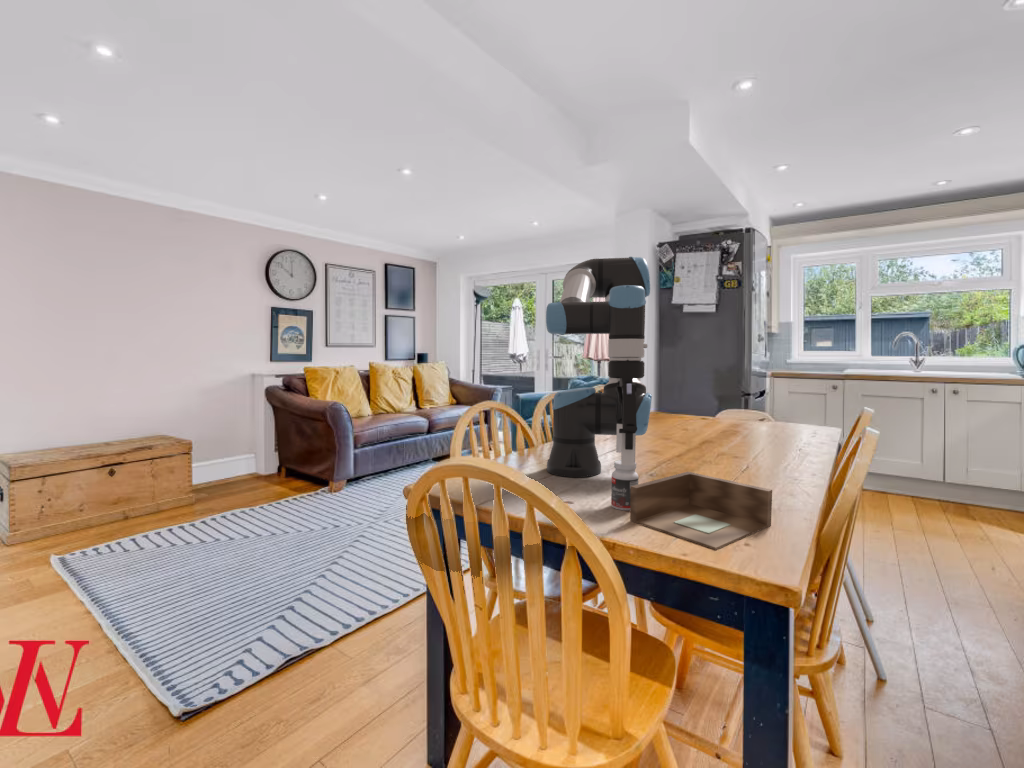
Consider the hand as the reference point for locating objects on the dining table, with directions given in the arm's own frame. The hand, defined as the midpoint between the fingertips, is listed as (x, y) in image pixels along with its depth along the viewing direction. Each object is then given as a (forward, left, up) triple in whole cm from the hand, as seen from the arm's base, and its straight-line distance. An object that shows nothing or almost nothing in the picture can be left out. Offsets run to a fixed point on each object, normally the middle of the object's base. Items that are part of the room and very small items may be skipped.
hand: (625, 458), depth 108 cm
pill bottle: (0, 0, -11) cm, 11 cm away
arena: (+16, +4, -11) cm, 19 cm away
